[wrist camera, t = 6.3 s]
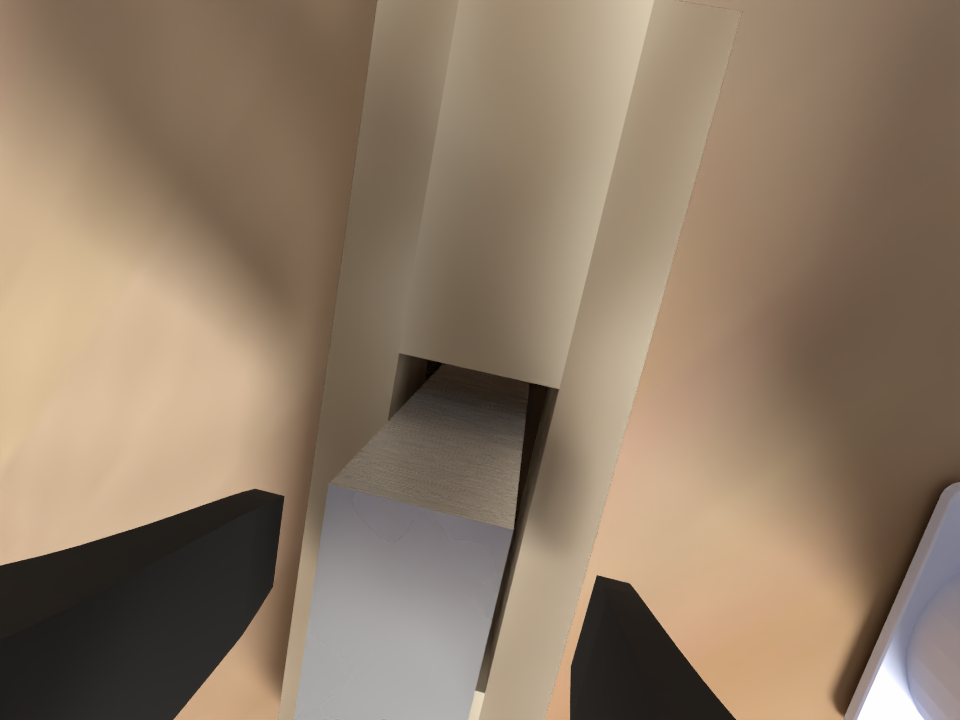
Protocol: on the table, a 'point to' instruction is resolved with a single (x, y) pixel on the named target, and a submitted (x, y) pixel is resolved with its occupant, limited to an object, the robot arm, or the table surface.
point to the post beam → (516, 264)
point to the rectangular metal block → (415, 555)
